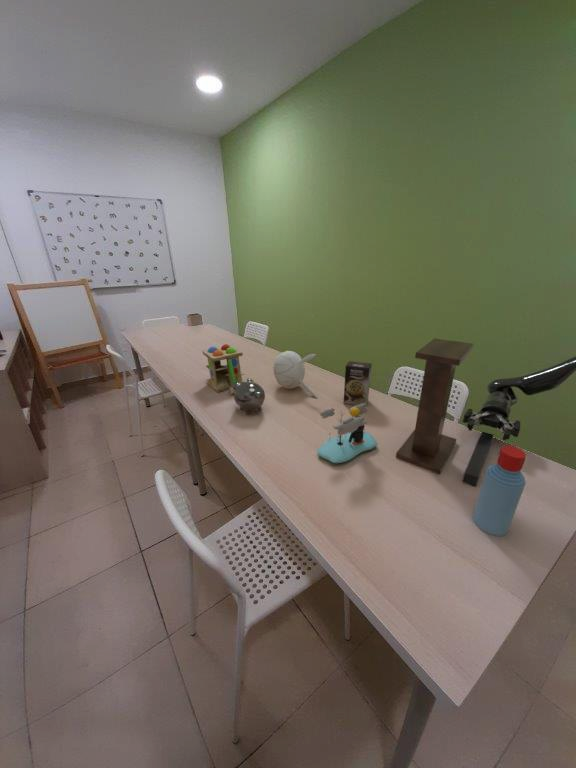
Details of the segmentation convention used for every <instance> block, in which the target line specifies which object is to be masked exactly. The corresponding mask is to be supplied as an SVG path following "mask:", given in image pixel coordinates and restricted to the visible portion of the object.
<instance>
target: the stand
mask: <svg viewBox="0 0 576 768" xmlns="http://www.w3.org/2000/svg"><path fill="white" fill-rule="evenodd" d="M474 345H475V344H474V343H471V342H464V341H456V340H450V339H441V338H432V340H430V341H429V342H428V343H426V344H425V345H424V346H422V347H421V348H419V350H417V351H416V352H415V356H414V358H415V359H419V360H425V366H424V372H423V378H422V383H421V390H420V397H419V403H418V408H417V413H416V414H417V415H416V421H415V427H414V430H413V431H412V432H411V434H410V435H409V436H408V438H406V440H405V441H404V442H403V444H401V447H400V448H398V450H397V451H396V453H395V458H397V459H399V460H402V461H404V462H407V463H410V464H411V465H415V466H417V467H420V468H423V469H425V470H427V471H430V472H433V473H436V474H438V475H440V474H441V472H442V471H443V469H444V467H445V464H446V462H447V461H448V459H449V457H450V455H451V454H452V452H453V449H454V447H455V446H456V443H457V438H454V437H451V436H448V435H444V434H443V431H444V425H445V421H446V417H447V413H448V412H447V411H448V407H449V406H448V405H449V403H450V402H449V401H450V398H451V397H450V396H451V393H452V392H451V391H452V389H453V383H454V378H455V373H456V369H457V366H460V365H461V364H462V363H463V361H464V360H465V359H466V358H467V357H468V356H469V354H470V353H471V352H472V351H473V349H474Z"/></svg>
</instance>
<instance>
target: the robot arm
mask: <svg viewBox="0 0 576 768" xmlns="http://www.w3.org/2000/svg"><path fill="white" fill-rule="evenodd" d="M575 373H576V355H574V356H573V357H570V358H567V359H566V360H564V361H561V362H559V363H557V364H554V365H552V366H550V367H547V368H544V369H541V370H538V371H534V372H532V373H528V374H525V375H521V376H515V377H506V378H497V379H493V380H491V381H490V382H489V383H488V384H487V385H486V389H487V392H488V393H489V395H488V397H487V398H486V400H485V401H484V403H483V404H482V407H481V409H480V411H478V412H475V411H473V409H472V408H468V409H467V410H466V412H465V413H464V414H463V419H462V423H464V424H466V429H468V431H472V430H473V428H474V426H477V427H479V426H486V427H490V428H493V429H496V430H497V431H498V432H499V433H503V437H502V441H506V440H507V441H508V440H510V438H511V436H513V437H515V438H518V437H519V434H520V431H521V421H520V420H515V421H510V419H509V416H510V413H511V408H512V406H514V405H516V404H517V403H518V395H517V393H516V392H515V390H514V389H513V388H517V389H519V390H520V391H521V392H522V393H523V394H524V395H526V396H534V395H537V394H541V393H544V392H548V391H551V390H554V389H556V388H559V387H560V386H562V385H563V384H565V382H567V381H568V380H569V379H570V378H571V377H572V376H573V375H574V374H575Z"/></svg>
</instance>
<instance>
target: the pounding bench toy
mask: <svg viewBox="0 0 576 768" xmlns="http://www.w3.org/2000/svg"><path fill="white" fill-rule="evenodd" d="M202 355H203V356H204V357H206V358H207V363H208V364H206V365H205V368H207V370H209V377H210V378H207V379H206V383H207V382H208V383H207V384H208V385H209V386H210V387H211V388H212V389H213V390H214V391H215V392H216V393H221V392H225V391H228V392H229V395H230V396H231V395H232V396H234V391H235V390H234V389H233V383H235V382H238V383H242V382H246V381H247V380H244V379H243V378H242V376H244V375H245V374H244V373H243V372H242V371H241V365H240V357H243V355H244V354H243V351H241V350H240V349H238V348H236V347H234V346H233V345H230V344H223V345H221V346H220V347H216V346H210V347H209V348H208V349H204V350H202ZM224 360H226V364H221V363H222V362H221V361H224Z"/></svg>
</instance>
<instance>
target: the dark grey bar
mask: <svg viewBox="0 0 576 768" xmlns="http://www.w3.org/2000/svg"><path fill="white" fill-rule="evenodd" d="M493 439H494V434H492V433H489V432H485V431H482V432H481V433H480V435H479V438H478V441H477V442H476V445H475V447H474V449H473V452H472V454H471V457H470V459H469V461H468V464H467V466H466V468H465V470H464V473H463V478H462V481H461V482H462V483H464V484H467V485H470V486H473V487H476V486H477V484H478V481H479V478H480V476H481V472H482V470H483V467H484V464H485V461H486V458H487V456H488V454H489V451H490V447H491V445H492V441H493Z"/></svg>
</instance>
